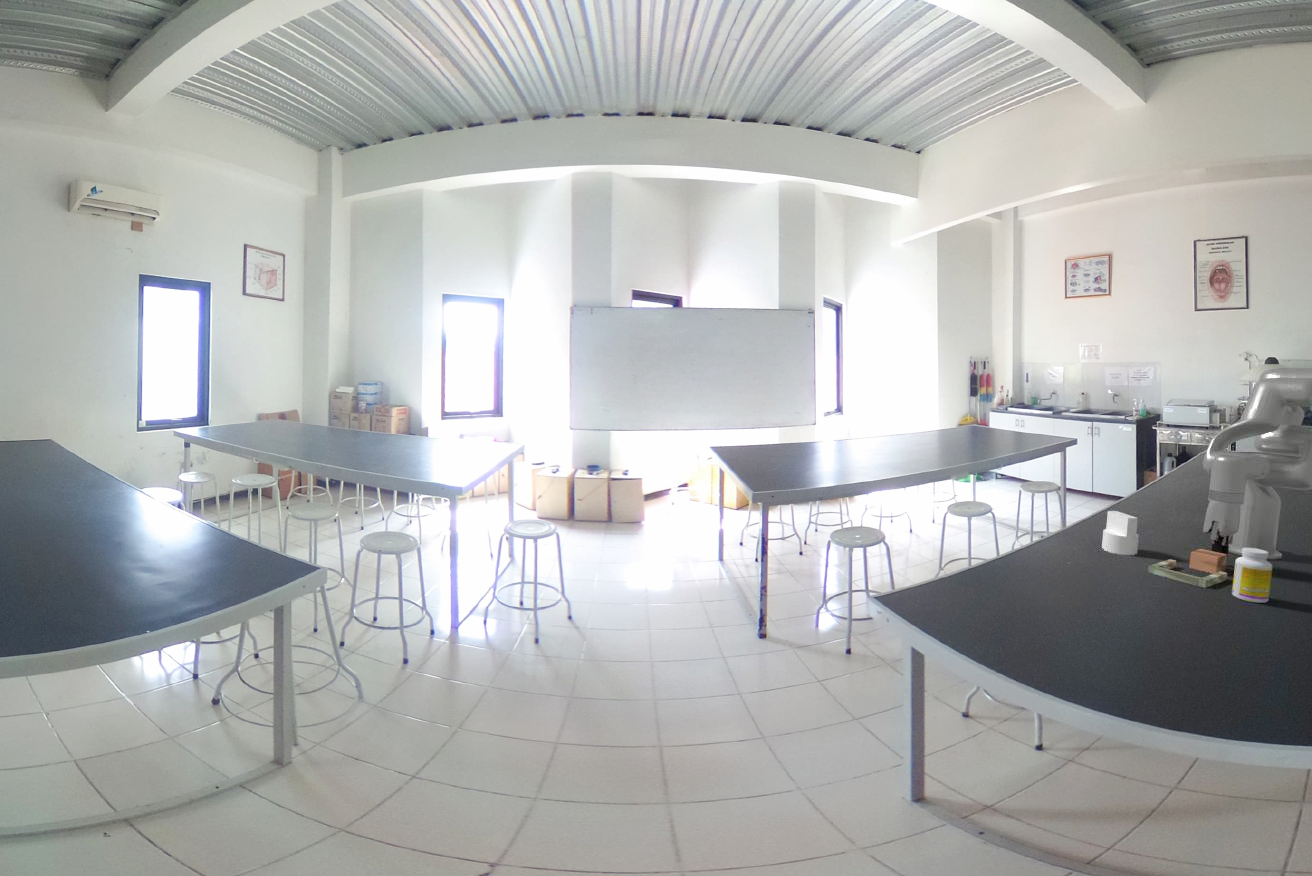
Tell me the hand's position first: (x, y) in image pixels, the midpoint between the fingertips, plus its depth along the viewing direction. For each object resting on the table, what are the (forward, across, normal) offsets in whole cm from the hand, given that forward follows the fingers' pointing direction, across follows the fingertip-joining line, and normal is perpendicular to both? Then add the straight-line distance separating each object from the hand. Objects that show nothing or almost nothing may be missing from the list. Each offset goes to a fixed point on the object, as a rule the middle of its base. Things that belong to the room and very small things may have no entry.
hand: (1219, 557), depth 172 cm
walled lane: (+3, +19, 0) cm, 19 cm away
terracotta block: (+3, +7, 0) cm, 7 cm away
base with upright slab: (+3, +10, -21) cm, 23 cm away
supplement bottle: (+3, +24, +15) cm, 28 cm away
